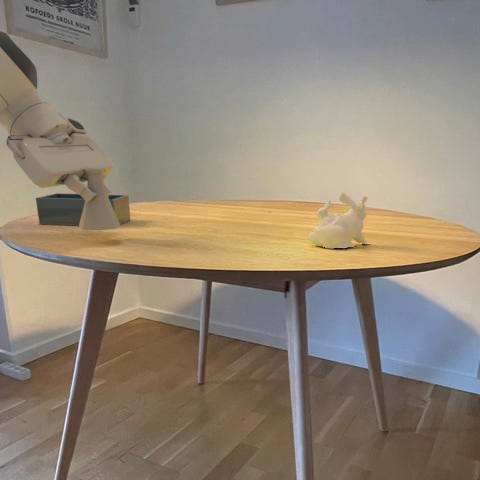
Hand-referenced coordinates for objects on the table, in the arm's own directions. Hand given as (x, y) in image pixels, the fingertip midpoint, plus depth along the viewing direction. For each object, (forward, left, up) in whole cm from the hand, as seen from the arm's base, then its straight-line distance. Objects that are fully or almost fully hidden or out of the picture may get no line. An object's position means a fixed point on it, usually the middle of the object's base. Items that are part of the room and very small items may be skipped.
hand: (100, 197), depth 81 cm
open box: (-13, +20, -8) cm, 25 cm away
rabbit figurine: (+42, +4, -8) cm, 43 cm away
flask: (-1, 0, -6) cm, 6 cm away
